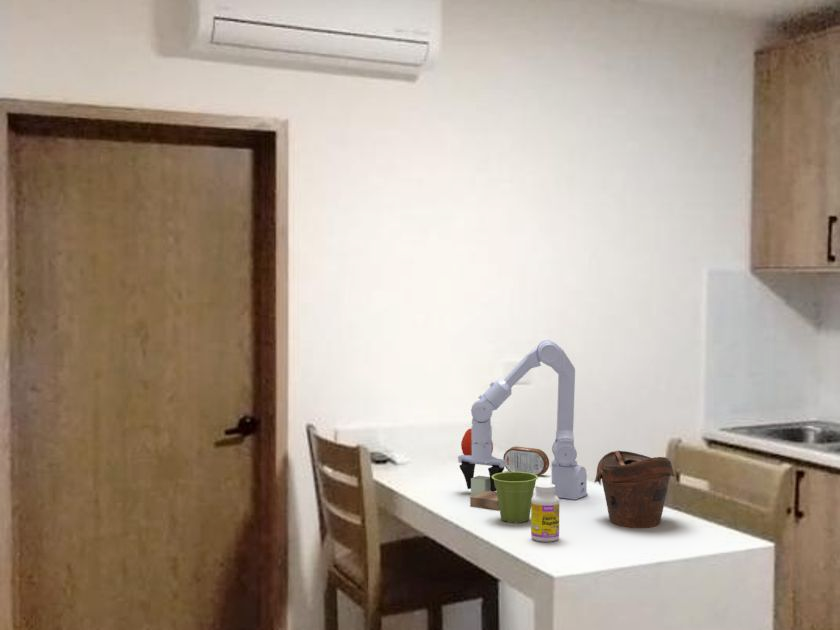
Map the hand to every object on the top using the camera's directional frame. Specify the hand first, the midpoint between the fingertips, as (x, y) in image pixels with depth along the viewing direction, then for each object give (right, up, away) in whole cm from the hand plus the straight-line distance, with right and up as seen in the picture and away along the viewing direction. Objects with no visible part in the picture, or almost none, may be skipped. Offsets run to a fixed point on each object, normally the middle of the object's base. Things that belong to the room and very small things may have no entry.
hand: (481, 489), depth 285 cm
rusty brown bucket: (+37, -3, -31) cm, 48 cm away
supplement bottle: (+12, -4, -47) cm, 49 cm away
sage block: (0, -2, 0) cm, 2 cm away
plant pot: (+7, -3, -29) cm, 30 cm away
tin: (+15, 0, +29) cm, 32 cm away
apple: (+2, +1, +57) cm, 57 cm away
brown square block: (+2, -2, -12) cm, 13 cm away
